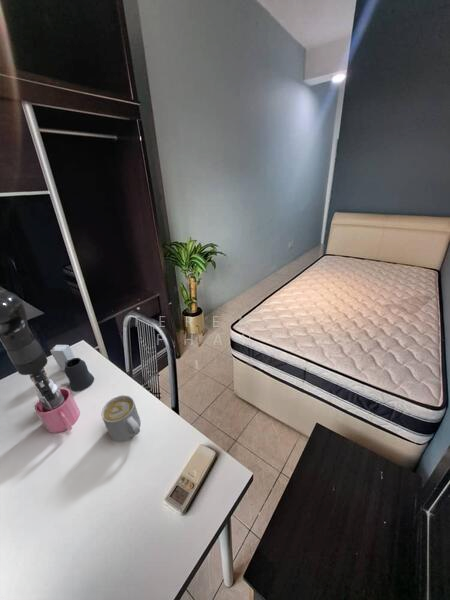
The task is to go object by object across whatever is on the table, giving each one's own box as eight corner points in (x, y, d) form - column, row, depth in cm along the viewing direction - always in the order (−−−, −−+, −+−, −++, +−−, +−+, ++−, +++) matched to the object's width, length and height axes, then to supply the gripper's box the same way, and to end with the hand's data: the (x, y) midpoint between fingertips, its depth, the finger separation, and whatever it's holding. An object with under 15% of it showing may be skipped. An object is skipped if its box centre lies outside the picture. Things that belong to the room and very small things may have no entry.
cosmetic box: (79, 365, 112) (70, 344, 107) (73, 372, 109) (63, 350, 103) (66, 364, 113) (56, 343, 107) (60, 371, 109) (49, 350, 103)
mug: (98, 380, 103) (90, 359, 98) (76, 395, 97) (66, 374, 92) (83, 369, 110) (75, 349, 104) (62, 382, 103) (52, 362, 98)
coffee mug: (105, 427, 84) (96, 408, 79) (132, 409, 90) (126, 390, 85) (121, 456, 75) (112, 436, 70) (150, 433, 81) (144, 414, 76)
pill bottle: (66, 396, 87) (55, 375, 83) (63, 408, 83) (52, 387, 78) (48, 401, 86) (36, 381, 81) (44, 414, 81) (31, 393, 76)
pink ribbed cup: (42, 421, 88) (30, 402, 83) (73, 401, 94) (64, 383, 89) (56, 446, 79) (43, 426, 74) (88, 423, 86) (79, 403, 81)
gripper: (9, 350, 76) (32, 388, 84) (15, 374, 67) (40, 414, 75) (37, 339, 80) (56, 376, 89) (46, 360, 71) (67, 400, 79)
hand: (49, 394), depth 82 cm, fingers closed on pill bottle, 5 cm apart
